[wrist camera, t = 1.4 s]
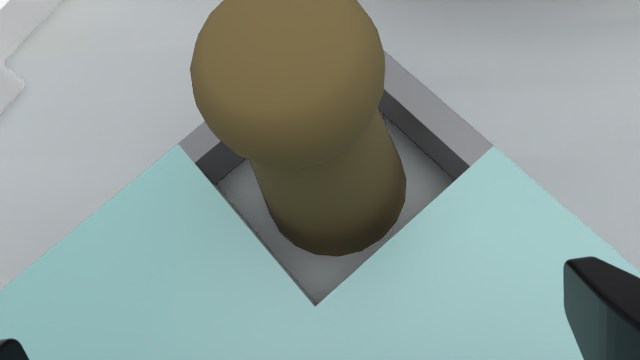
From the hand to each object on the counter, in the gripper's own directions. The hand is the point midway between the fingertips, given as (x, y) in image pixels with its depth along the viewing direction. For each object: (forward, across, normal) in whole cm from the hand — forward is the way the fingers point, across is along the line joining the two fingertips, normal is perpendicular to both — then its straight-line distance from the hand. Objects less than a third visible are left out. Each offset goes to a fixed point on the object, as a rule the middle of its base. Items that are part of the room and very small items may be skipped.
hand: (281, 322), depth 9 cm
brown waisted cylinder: (+14, 0, +4) cm, 15 cm away
